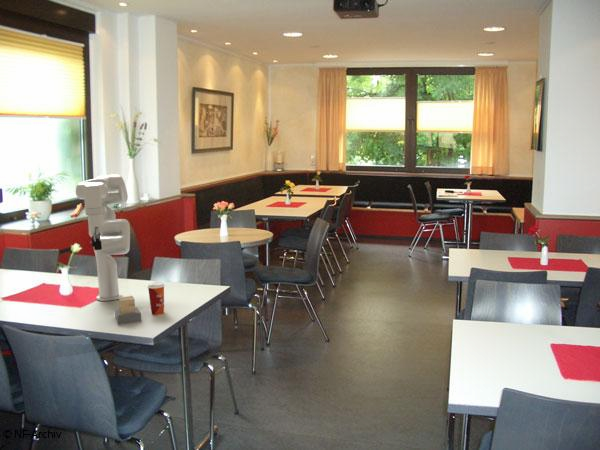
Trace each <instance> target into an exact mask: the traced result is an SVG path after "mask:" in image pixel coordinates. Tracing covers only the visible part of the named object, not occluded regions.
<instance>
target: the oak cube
mask: <svg viewBox="0 0 600 450" xmlns="http://www.w3.org/2000/svg"><path fill="white" fill-rule="evenodd" d="M135 301H136V300H135V298H134V296H133V295H126V296H122V297H119V299H118V304H119V305H118V306H119V309H120V312H121V314H124V313H131V312H135V307H136V304H135V303H136V302H135Z"/></svg>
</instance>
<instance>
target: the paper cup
mask: <svg viewBox="0 0 600 450" xmlns="http://www.w3.org/2000/svg"><path fill="white" fill-rule="evenodd" d="M147 289H148V296H149V304H150V305H149V306H150V311H151V315H154V316H159V315H162V314H163V315H164V313H165V284H164V282H162V281H153V282H149V283H148V284H147Z"/></svg>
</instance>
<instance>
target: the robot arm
mask: <svg viewBox="0 0 600 450" xmlns="http://www.w3.org/2000/svg"><path fill="white" fill-rule="evenodd" d="M75 194H76V197H77V199H79V200H84V211H85V216H87V222H88V223H87V224H88V235H89V237H90V238H91V244H92V248H93V251H94V254H95V255H94V256H95V260H96V269H97V270H96V271H97V281H98V282H97V283H98V295H97V296H96V297H95V298H96V300H97V301H100V302H101V301H102V302H105V301H106V302H108V301H109V302H110V301H115V300H119V297H123V293H121V292H120V289H119V280H118V279H119V278H118V268H117V267H118V264H117V261H116V260H115V258H113V255H114V256H116V255H125V254H126V255H127V254H128V253H129V252H130V247H131V226H130V222H129V221H128V220H127V219H126V218H117V219H116V217H117V216H116V213H115V211H114V210H113V209H112V208H111V207H110V206H108V205H123V204H125V203H127V201H128V197H129V196H128V191H127V186H126V183H125V180H124V178H123V177H122V176H121V175H120V174H110V175H109V174H106V175H99V176H97V177H96V178H92V179H88V180H83V181H79V182H78V183H77V185H76V187H75Z"/></svg>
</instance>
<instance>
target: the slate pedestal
mask: <svg viewBox="0 0 600 450" xmlns="http://www.w3.org/2000/svg"><path fill="white" fill-rule="evenodd" d="M114 320H115V321H116V323H117V325H123V324H131V322H132V323H137V322H138V321H139V322H142V313H141V311H140V309H139V308H138V306H135V312H131V313H124V314H121V312H120V309H114Z"/></svg>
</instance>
